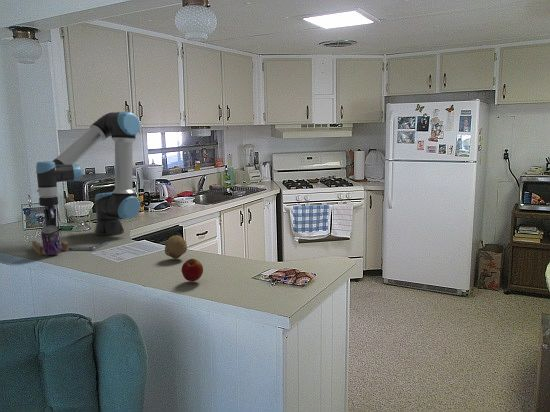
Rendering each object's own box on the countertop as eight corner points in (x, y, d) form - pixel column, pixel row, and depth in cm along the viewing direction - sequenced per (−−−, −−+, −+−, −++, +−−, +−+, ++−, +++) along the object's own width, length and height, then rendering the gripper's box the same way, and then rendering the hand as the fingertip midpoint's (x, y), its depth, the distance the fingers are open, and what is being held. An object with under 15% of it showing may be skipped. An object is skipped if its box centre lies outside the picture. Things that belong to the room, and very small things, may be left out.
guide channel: (60, 244, 221) (59, 237, 221) (68, 251, 209) (68, 243, 208) (32, 248, 214) (32, 241, 214) (40, 255, 202) (39, 247, 201)
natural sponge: (192, 257, 194) (191, 234, 193) (177, 262, 187) (175, 238, 185) (177, 254, 199) (176, 232, 198) (161, 259, 192) (160, 236, 191)
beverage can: (53, 258, 199) (48, 235, 193) (41, 253, 201) (36, 230, 195) (65, 250, 205) (62, 227, 199) (54, 245, 207) (49, 222, 201)
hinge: (113, 247, 215) (113, 244, 215) (71, 253, 204) (71, 251, 203) (106, 243, 223) (106, 240, 223) (65, 249, 212) (65, 246, 212)
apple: (177, 282, 162) (176, 260, 161) (193, 276, 169) (192, 255, 168) (192, 285, 158) (191, 263, 157) (208, 279, 165) (207, 257, 164)
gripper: (36, 195, 205) (40, 246, 209) (42, 198, 195) (46, 252, 199) (54, 194, 210) (58, 244, 214) (60, 197, 200) (65, 249, 203)
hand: (52, 248), depth 206 cm, fingers closed
